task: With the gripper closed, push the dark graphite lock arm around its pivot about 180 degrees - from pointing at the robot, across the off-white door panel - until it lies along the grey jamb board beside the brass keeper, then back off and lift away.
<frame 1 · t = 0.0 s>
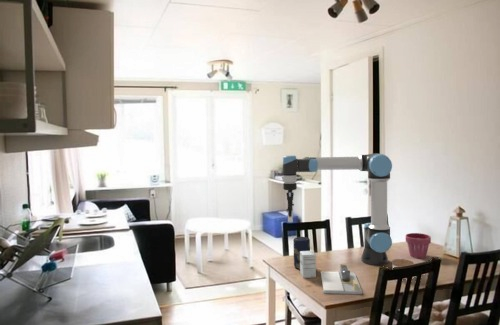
hand: (290, 219, 228), 28 cm above the table, tool pointing down, fingers open, 13 cm apart
supplement box: (307, 275, 216), on the table
lock arm: (344, 272, 208), point 4 cm above the table, hinge at -90.0°
door board: (340, 283, 204), on the table
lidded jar: (402, 276, 211), on the table
canister: (302, 267, 230), on the table
plant pot: (417, 256, 245), on the table
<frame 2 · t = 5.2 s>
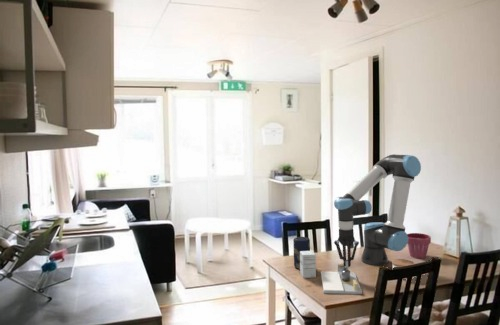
hand: (347, 272, 210), 3 cm above the table, tool pointing down, fingers closed
lock arm: (343, 272, 208), point 4 cm above the table, hinge at -83.0°, touching gripper
everything else where it was.
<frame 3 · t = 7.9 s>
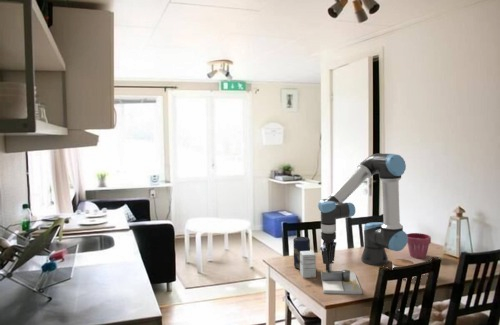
hand: (328, 275, 207), 3 cm above the table, tool pointing down, fingers closed
lock arm: (335, 275, 204), point 4 cm above the table, hinge at -0.3°, touching gripper
everything else where it was.
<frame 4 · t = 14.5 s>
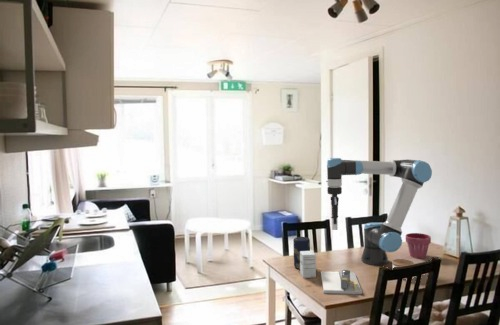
hand: (334, 229, 217), 24 cm above the table, tool pointing down, fingers closed
lock arm: (345, 279, 198), point 4 cm above the table, hinge at 79.2°
everything else where it was.
at the end: lock arm at +79° (first picture: -90°); the gripper is holding nothing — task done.
